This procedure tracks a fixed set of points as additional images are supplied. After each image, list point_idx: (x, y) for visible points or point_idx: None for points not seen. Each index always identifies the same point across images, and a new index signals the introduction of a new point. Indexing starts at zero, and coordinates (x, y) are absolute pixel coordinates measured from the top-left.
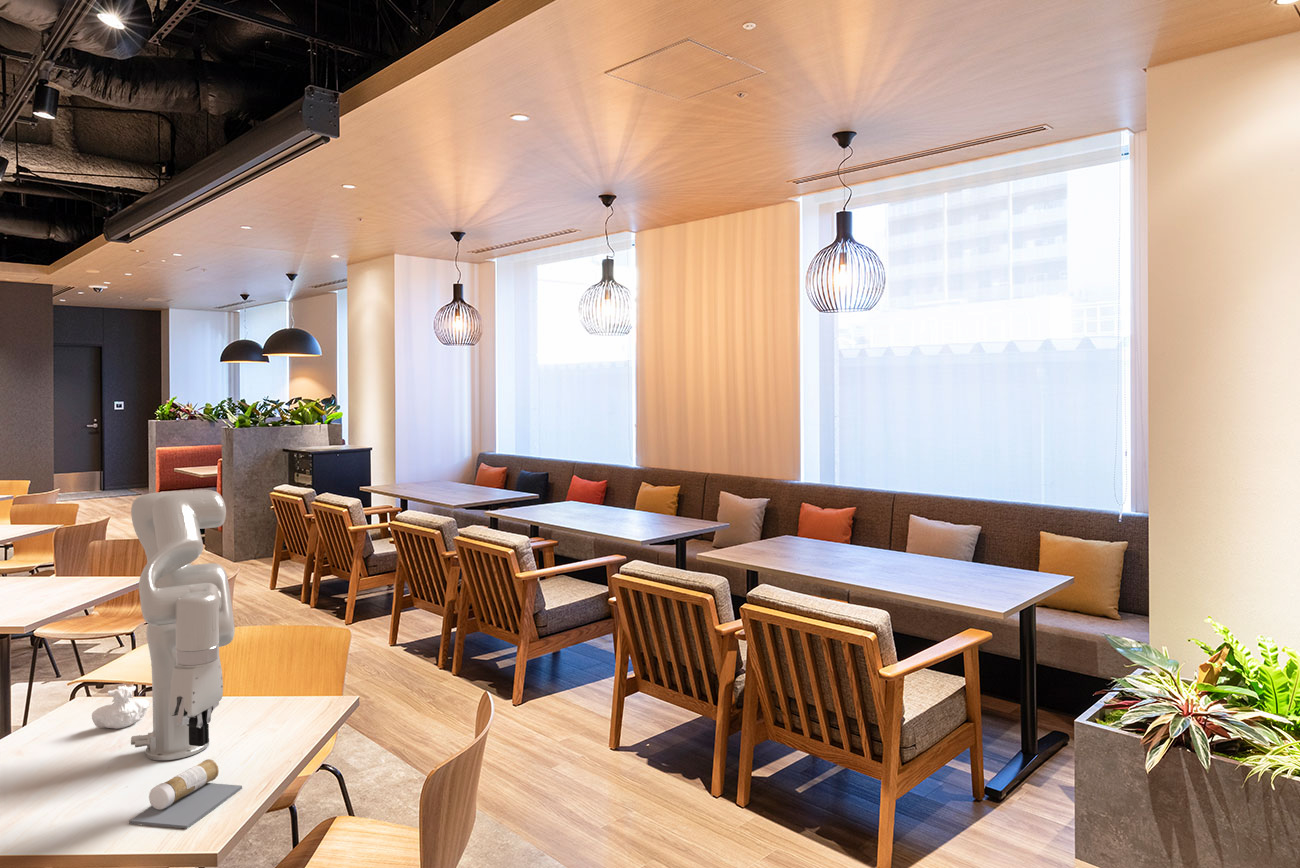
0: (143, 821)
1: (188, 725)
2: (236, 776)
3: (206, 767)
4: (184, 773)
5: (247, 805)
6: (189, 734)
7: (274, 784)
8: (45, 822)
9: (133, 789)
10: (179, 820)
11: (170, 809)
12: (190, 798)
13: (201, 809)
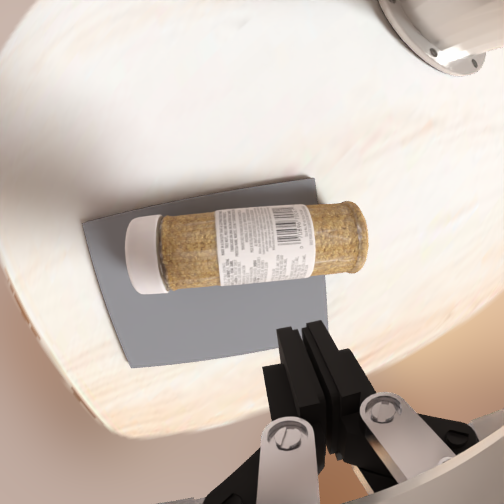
0: (94, 262)
1: (251, 461)
2: (379, 266)
3: (325, 269)
4: (245, 260)
5: (260, 396)
6: (286, 368)
7: None
8: (47, 38)
9: (233, 50)
10: (136, 339)
11: None
12: None
13: (195, 345)
